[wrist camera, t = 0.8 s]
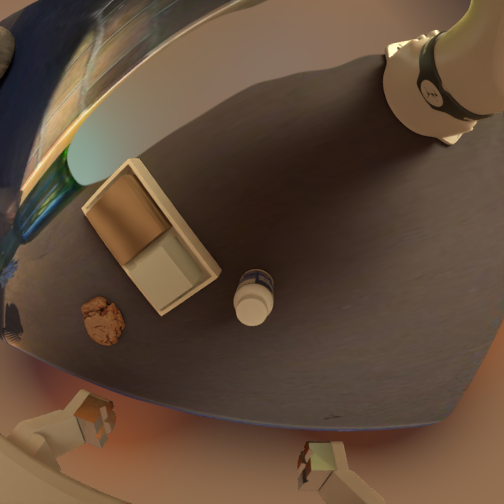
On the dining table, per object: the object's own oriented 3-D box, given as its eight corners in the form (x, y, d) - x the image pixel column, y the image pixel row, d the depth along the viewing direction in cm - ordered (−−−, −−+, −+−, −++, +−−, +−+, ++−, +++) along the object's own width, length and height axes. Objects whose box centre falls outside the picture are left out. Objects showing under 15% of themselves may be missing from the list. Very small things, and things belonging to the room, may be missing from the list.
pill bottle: (280, 291, 46) (280, 321, 37) (250, 305, 47) (243, 336, 38) (263, 262, 45) (260, 286, 36) (233, 277, 46) (222, 303, 37)
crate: (139, 158, 42) (129, 158, 39) (222, 269, 46) (217, 277, 42) (92, 205, 45) (81, 208, 41) (168, 307, 49) (161, 316, 45)
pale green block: (175, 236, 44) (161, 245, 39) (203, 272, 46) (193, 286, 40) (145, 261, 46) (128, 273, 40) (171, 294, 47) (158, 310, 41)
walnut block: (137, 174, 42) (122, 175, 37) (174, 224, 44) (162, 231, 39) (102, 209, 44) (85, 214, 39) (135, 257, 46) (121, 266, 41)
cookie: (90, 337, 53) (83, 344, 50) (81, 291, 50) (72, 297, 47) (130, 346, 52) (124, 355, 49) (123, 298, 49) (115, 305, 46)
